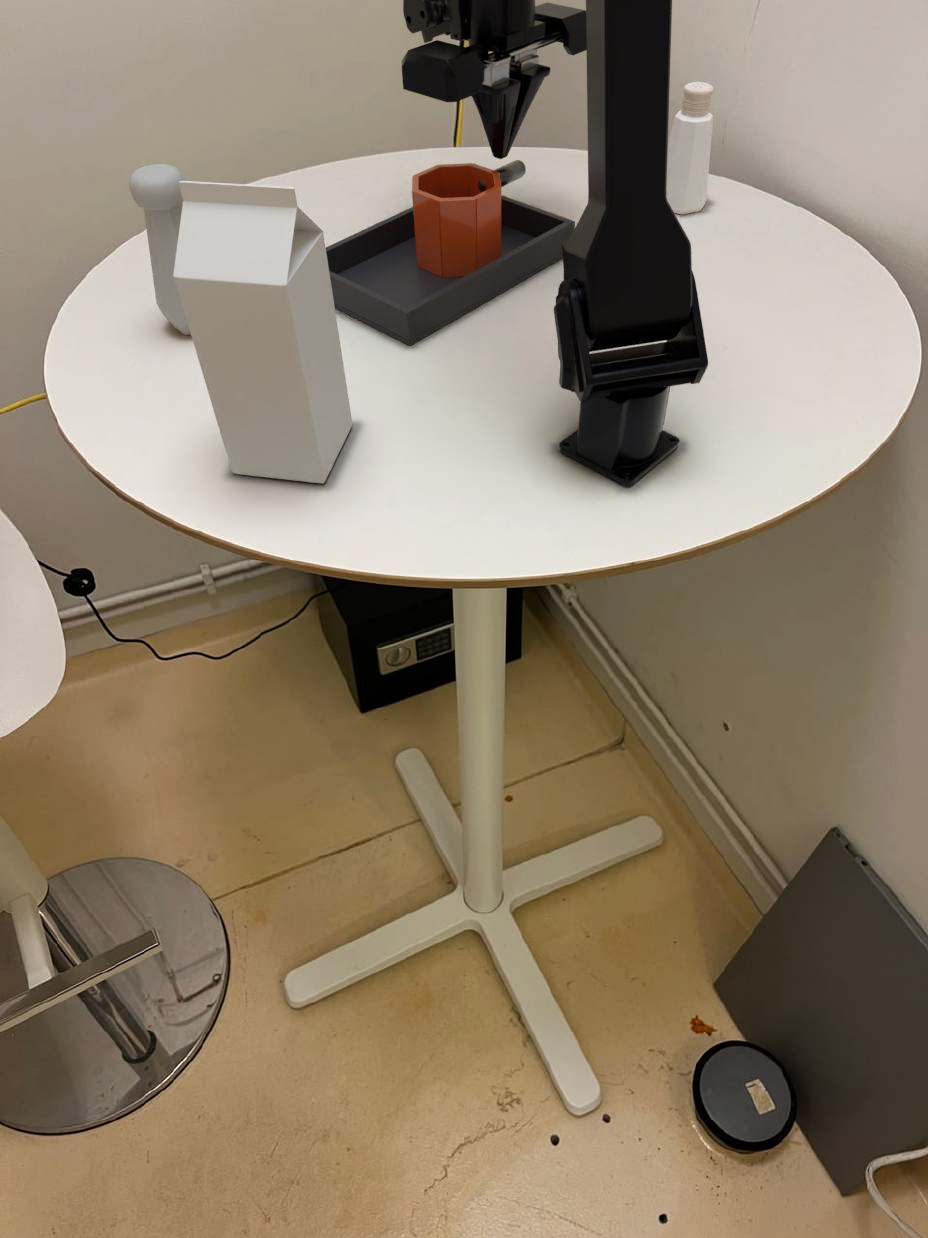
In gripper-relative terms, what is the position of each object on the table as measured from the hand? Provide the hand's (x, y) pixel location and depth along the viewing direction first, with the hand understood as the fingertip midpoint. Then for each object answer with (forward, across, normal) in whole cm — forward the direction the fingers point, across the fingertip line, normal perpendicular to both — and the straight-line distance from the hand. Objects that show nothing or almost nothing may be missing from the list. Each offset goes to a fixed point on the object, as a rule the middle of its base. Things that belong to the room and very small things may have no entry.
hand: (500, 156), depth 79 cm
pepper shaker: (+8, -18, +9) cm, 22 cm away
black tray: (+8, +8, 0) cm, 12 cm away
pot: (+7, +3, 0) cm, 8 cm away
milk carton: (+8, +36, +11) cm, 38 cm away
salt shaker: (+8, +30, -10) cm, 32 cm away
